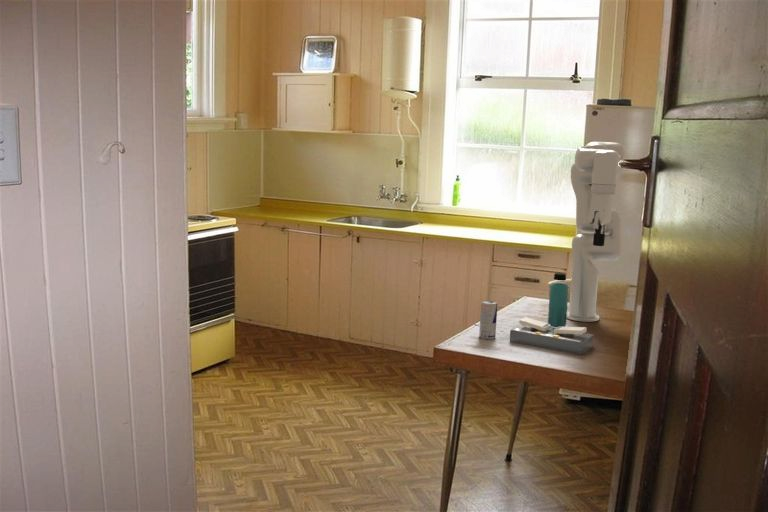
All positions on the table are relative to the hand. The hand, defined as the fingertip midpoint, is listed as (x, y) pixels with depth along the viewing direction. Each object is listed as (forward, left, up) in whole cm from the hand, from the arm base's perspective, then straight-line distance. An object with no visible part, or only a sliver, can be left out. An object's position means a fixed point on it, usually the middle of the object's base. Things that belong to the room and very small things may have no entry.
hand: (598, 245), depth 259 cm
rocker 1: (+13, -15, -26) cm, 33 cm away
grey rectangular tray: (+13, -9, -32) cm, 36 cm away
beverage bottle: (-6, -14, -32) cm, 36 cm away
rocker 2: (+13, -3, -26) cm, 30 cm away
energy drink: (+19, -29, -32) cm, 47 cm away
